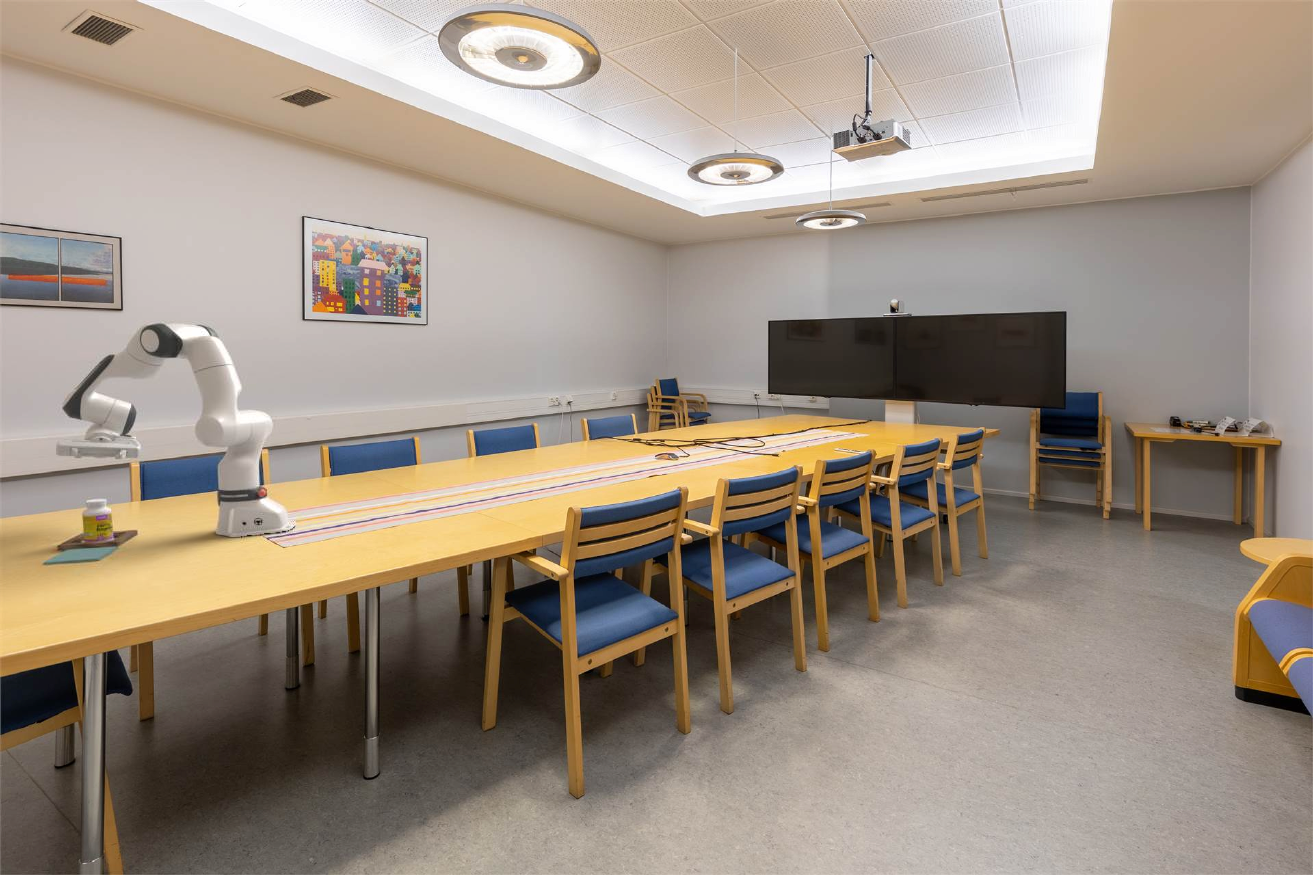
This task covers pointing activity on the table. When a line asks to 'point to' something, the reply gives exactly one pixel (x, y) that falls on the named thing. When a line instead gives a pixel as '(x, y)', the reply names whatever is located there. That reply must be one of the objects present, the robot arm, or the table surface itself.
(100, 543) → the brown wooden square frame
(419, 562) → the table surface
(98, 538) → the supplement bottle
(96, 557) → the teal mat
